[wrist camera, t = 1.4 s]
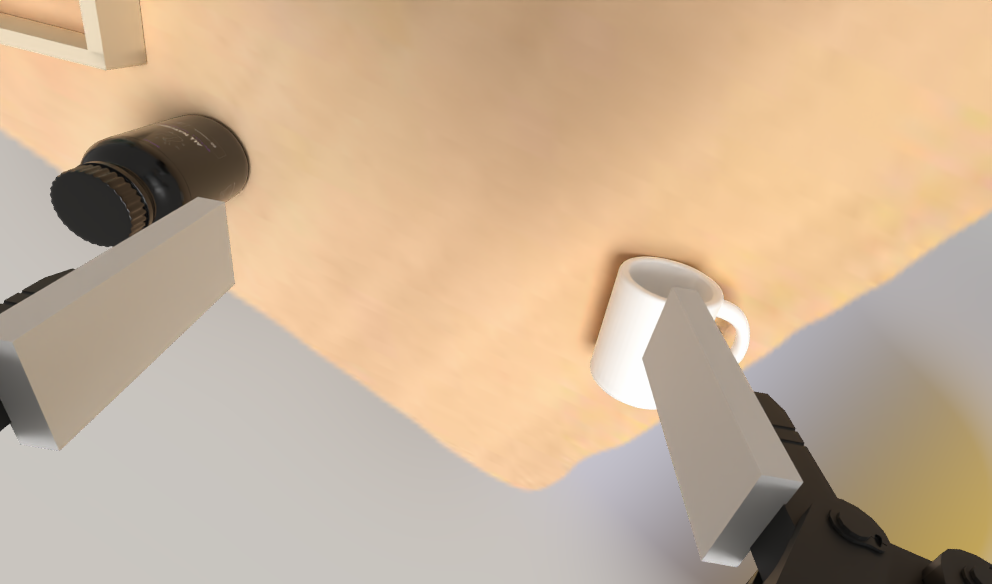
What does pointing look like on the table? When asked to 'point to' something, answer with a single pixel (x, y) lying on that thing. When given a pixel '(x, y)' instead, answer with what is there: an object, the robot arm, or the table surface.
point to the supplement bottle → (148, 177)
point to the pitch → (85, 35)
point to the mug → (650, 323)
